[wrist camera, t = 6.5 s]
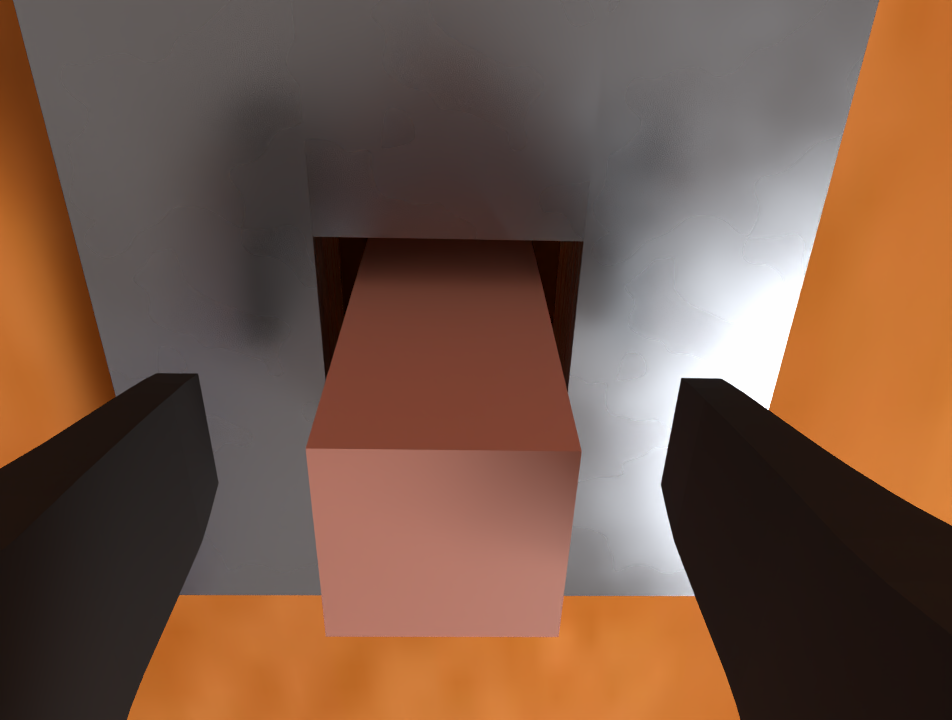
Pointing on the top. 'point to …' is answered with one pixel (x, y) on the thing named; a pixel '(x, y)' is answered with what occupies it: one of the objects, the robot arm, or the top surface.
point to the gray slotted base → (443, 214)
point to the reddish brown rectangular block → (444, 448)
